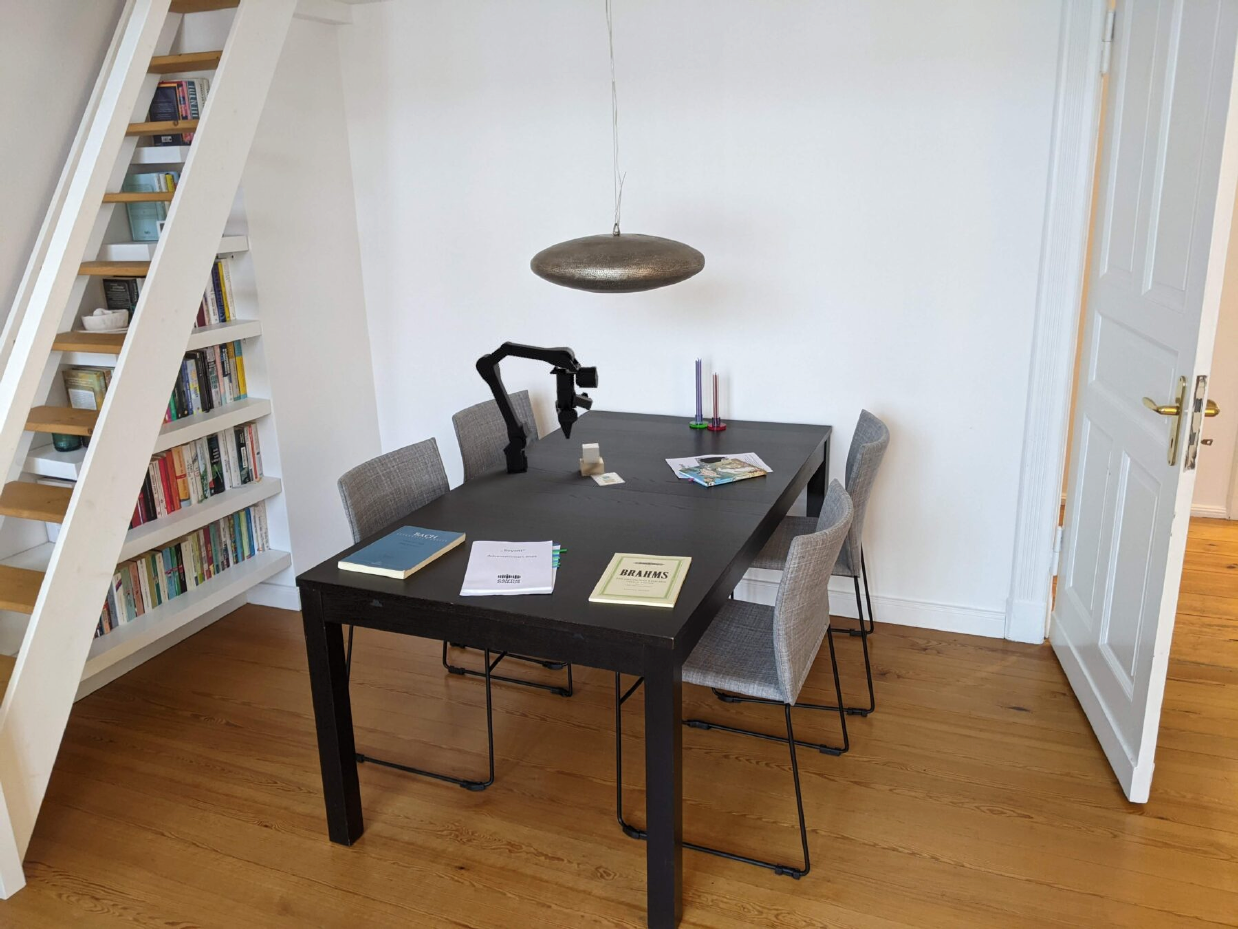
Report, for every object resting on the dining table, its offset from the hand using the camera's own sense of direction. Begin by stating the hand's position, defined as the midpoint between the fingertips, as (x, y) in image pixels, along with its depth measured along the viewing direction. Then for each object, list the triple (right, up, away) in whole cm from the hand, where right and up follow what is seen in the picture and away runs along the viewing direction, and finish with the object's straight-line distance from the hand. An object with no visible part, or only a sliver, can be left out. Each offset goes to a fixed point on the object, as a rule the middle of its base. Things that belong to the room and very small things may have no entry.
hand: (566, 435), depth 305 cm
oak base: (+8, -12, 0) cm, 15 cm away
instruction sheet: (+13, -14, -9) cm, 21 cm away
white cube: (+8, -8, -1) cm, 12 cm away
